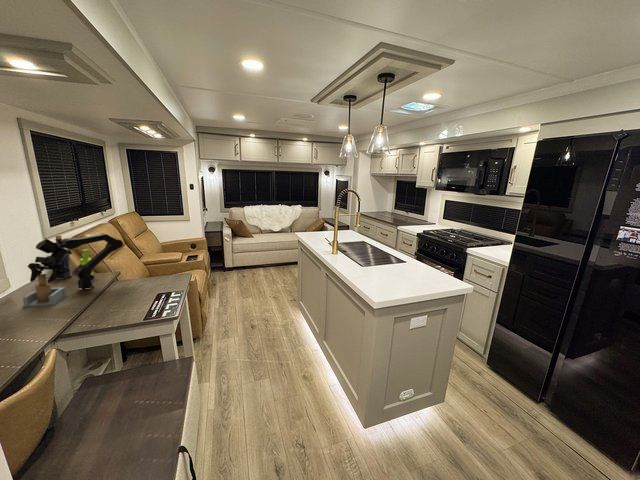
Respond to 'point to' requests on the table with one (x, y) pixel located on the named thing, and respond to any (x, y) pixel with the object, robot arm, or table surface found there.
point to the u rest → (53, 299)
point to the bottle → (66, 259)
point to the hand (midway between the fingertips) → (39, 281)
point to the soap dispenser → (85, 258)
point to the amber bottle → (43, 289)
